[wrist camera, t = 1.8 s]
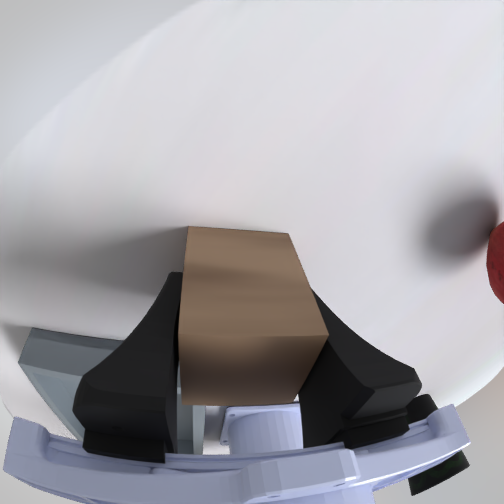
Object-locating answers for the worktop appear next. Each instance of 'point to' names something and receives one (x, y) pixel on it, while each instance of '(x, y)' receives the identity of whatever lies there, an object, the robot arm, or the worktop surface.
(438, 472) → the cup
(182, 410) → the tray
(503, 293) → the pomegranate
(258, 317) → the block
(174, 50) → the worktop surface
